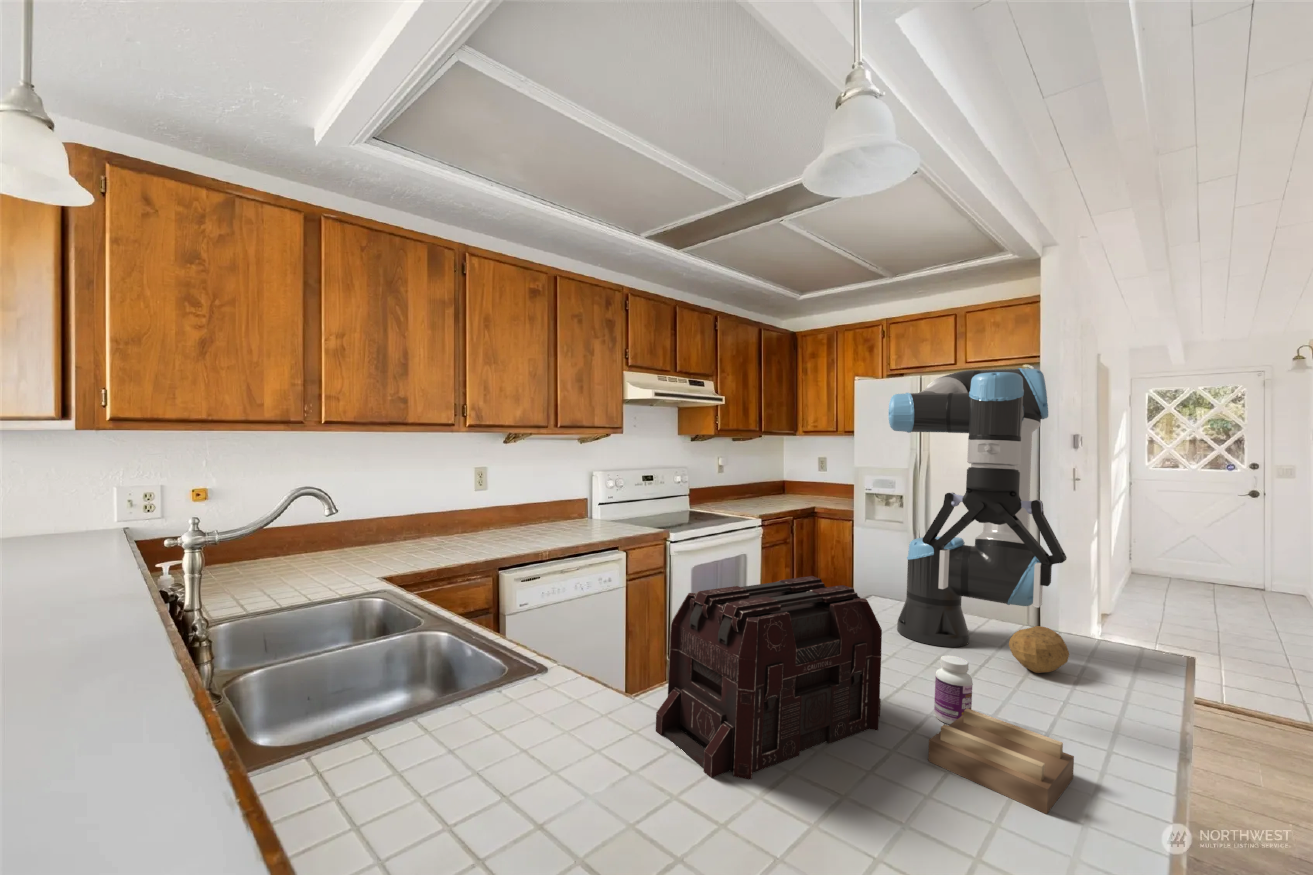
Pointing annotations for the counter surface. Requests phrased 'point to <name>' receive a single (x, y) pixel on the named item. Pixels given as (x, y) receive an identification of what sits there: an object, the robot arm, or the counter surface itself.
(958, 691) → the pill bottle
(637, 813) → the counter surface
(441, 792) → the counter surface
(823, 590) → the crate
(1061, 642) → the potato
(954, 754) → the display pedestal
